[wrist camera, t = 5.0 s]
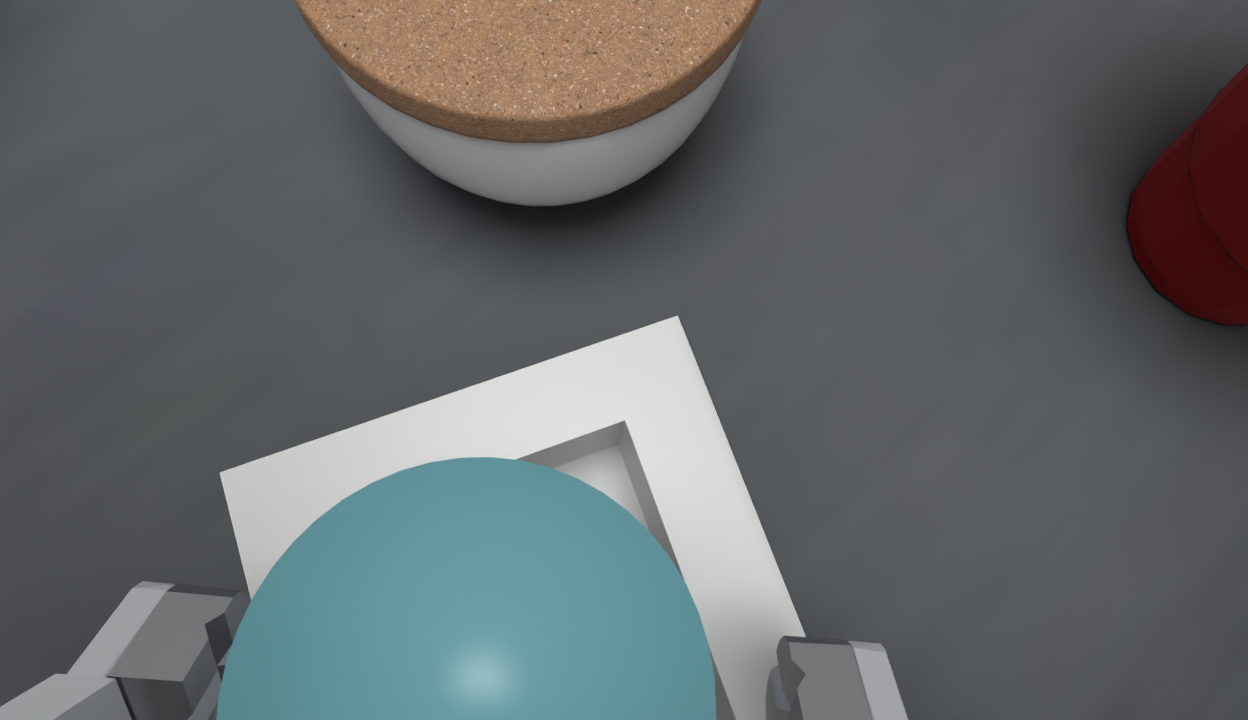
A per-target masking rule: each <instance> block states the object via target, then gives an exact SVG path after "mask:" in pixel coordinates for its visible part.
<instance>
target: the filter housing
mask: <svg viewBox="0 0 1248 720" xmlns="http://www.w3.org/2000/svg"><path fill="white" fill-rule="evenodd" d="M469 457H495V458H504V459H513V460H521V461H525V462H529V463H533V464H537V465H541V466H546V467H550V468H552V469H555V470H557V471H560V472H562V473H565V474H567V475H570V476H573V477H575V478H578V479H579V480H581V481H583V482H585V483H587V484H588V485H590V486H592V487H594V488H596V489H597V490H599V491H601V492H603V493H604V494H606V495H607V496H608V497H610V498H611V499H613V500H614V501H615V502H617V503H618V504H619V505H621V506H622V507H623V508H625V509H626V510H627V511H629V512H630V513H631V514H632V515H633V516H634V517H635V518H636V519H637V520H638V521H639V522H640V523H641V524H642V525H643V526H644V527H645V528H646V529H647V530H648V531H649V532H650V533H651V534H652V535H653V537H654V538H655V539H656V540H657V542H658V543H659V544H660V545H661V547H662V548H663V549H664V550H665V552H666V553H667V554H668V555H669V557H670V558H671V560H672V562H673V563H674V565H675V567H676V568H677V570H678V571H679V573H680V575H681V576H682V578H683V580H684V581H685V583H686V585H687V587H688V589H689V592H690V594H691V596H692V598H693V601H694V603H695V605H696V607H697V610H698V612H699V614H700V618H701V621H702V624H703V628H704V631H705V634H706V638H707V641H708V644H709V649H710V655H711V660H712V666H713V672H714V678H715V696H716V720H766V705H765V700H766V688H767V682H768V678H769V674H770V670H771V669H773V668H774V667H776V666H777V665H778V660H777V653H776V650H777V647H778V644H779V640H780V639H781V638H782V637H783V636H798V637H806V636H805V633H804V631H803V628H802V626H801V623H800V621H799V618H798V616H797V613H796V611H795V608H794V606H793V603H792V601H791V598H790V596H789V593H788V591H787V588H786V586H785V583H784V581H783V578H782V576H781V573H780V571H779V568H778V566H777V563H776V561H775V558H774V556H773V553H772V551H771V548H770V546H769V543H768V541H767V538H766V536H765V533H764V531H763V528H762V526H761V523H760V521H759V518H758V516H757V513H756V511H755V508H754V506H753V503H752V501H751V498H750V496H749V493H748V491H747V488H746V486H745V483H744V481H743V478H742V476H741V473H740V471H739V468H738V466H737V463H736V461H735V458H734V456H733V453H732V451H731V448H730V446H729V443H728V441H727V438H726V436H725V433H724V430H723V428H722V425H721V423H720V420H719V418H718V415H717V413H716V410H715V408H714V405H713V403H712V400H711V398H710V395H709V393H708V390H707V388H706V385H705V383H704V380H703V378H702V375H701V373H700V370H699V368H698V365H697V363H696V360H695V358H694V355H693V353H692V350H691V348H690V345H689V343H688V340H687V338H686V335H685V333H684V330H683V328H682V325H681V323H680V320H679V318H678V316H675V317H672V318H669V319H666V320H663V321H660V322H657V323H655V324H652V325H649V326H646V327H643V328H640V329H637V330H634V331H631V332H628V333H625V334H622V335H620V336H617V337H614V338H611V339H608V340H605V341H602V342H599V343H596V344H593V345H590V346H587V347H584V348H582V349H579V350H576V351H573V352H570V353H567V354H564V355H561V356H558V357H555V358H552V359H549V360H546V361H544V362H541V363H538V364H535V365H532V366H529V367H526V368H523V369H520V370H517V371H514V372H511V373H509V374H506V375H503V376H500V377H497V378H494V379H491V380H488V381H485V382H482V383H479V384H476V385H473V386H471V387H468V388H465V389H462V390H459V391H456V392H453V393H450V394H447V395H444V396H441V397H438V398H436V399H433V400H430V401H427V402H424V403H421V404H418V405H415V406H412V407H409V408H406V409H403V410H400V411H398V412H395V413H392V414H389V415H386V416H383V417H380V418H377V419H374V420H371V421H368V422H365V423H362V424H360V425H357V426H354V427H351V428H348V429H345V430H342V431H339V432H336V433H333V434H330V435H327V436H325V437H322V438H319V439H316V440H313V441H310V442H307V443H304V444H301V445H298V446H295V447H292V448H289V449H287V450H284V451H281V452H278V453H275V454H272V455H269V456H266V457H263V458H260V459H257V460H254V461H252V462H249V463H246V464H243V465H240V466H237V467H234V468H231V469H228V470H226V471H223V472H220V476H221V480H222V484H223V488H224V493H225V497H226V501H227V505H228V509H229V513H230V517H231V521H232V525H233V529H234V533H235V537H236V541H237V545H238V549H239V553H240V557H241V561H242V565H243V569H244V573H245V577H246V581H247V585H248V589H249V593H250V597H251V600H252V598H253V596H254V595H255V593H256V592H257V590H258V588H259V587H260V585H261V584H262V582H263V581H264V579H265V578H266V576H267V574H268V573H269V571H270V570H271V568H272V567H273V566H274V565H275V563H276V562H277V561H278V560H279V558H280V557H281V556H282V555H283V554H284V552H285V551H286V550H287V549H288V547H289V546H290V545H291V544H292V543H293V542H294V541H295V540H296V539H297V538H298V537H299V536H300V535H301V534H302V533H303V532H304V531H305V530H306V529H307V528H308V527H309V526H310V525H311V524H312V523H313V522H314V521H315V520H316V519H318V518H319V517H320V516H322V515H323V514H324V513H326V512H327V511H328V510H330V509H331V508H332V507H334V506H335V505H336V504H338V503H339V502H340V501H341V500H343V499H344V498H346V497H348V496H350V495H351V494H353V493H355V492H357V491H358V490H360V489H362V488H363V487H365V486H367V485H369V484H370V483H372V482H375V481H377V480H379V479H382V478H384V477H387V476H389V475H391V474H394V473H396V472H398V471H401V470H404V469H408V468H412V467H415V466H419V465H422V464H426V463H429V462H435V461H442V460H448V459H455V458H469Z"/></svg>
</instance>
